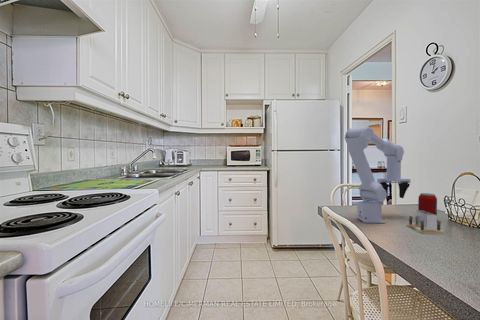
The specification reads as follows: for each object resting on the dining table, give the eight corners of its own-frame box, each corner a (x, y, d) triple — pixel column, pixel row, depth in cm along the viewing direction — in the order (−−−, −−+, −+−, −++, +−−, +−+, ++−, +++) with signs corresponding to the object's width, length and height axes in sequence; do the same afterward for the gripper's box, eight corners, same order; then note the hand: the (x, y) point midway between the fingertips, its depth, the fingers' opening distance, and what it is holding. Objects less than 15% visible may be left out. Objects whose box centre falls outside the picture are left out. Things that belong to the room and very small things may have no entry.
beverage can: (440, 221, 105) (441, 195, 105) (425, 221, 105) (425, 195, 105) (428, 217, 112) (429, 192, 111) (414, 217, 112) (414, 192, 112)
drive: (436, 230, 90) (436, 215, 90) (426, 230, 90) (427, 214, 90) (422, 224, 98) (422, 210, 98) (413, 224, 98) (413, 209, 98)
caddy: (444, 234, 89) (444, 222, 89) (422, 233, 90) (422, 222, 90) (425, 225, 99) (425, 215, 99) (405, 225, 100) (406, 215, 100)
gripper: (382, 170, 109) (382, 199, 110) (414, 170, 108) (414, 199, 109) (374, 169, 117) (374, 196, 117) (405, 169, 115) (405, 196, 116)
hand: (393, 197), depth 113 cm, fingers open, 7 cm apart
